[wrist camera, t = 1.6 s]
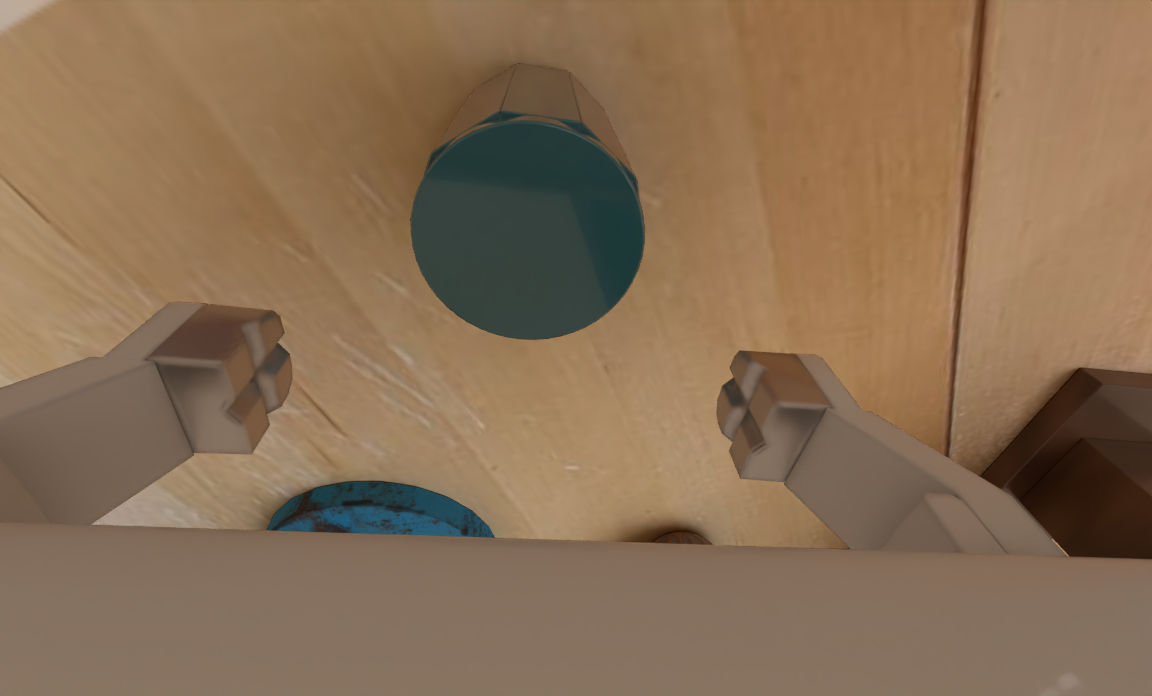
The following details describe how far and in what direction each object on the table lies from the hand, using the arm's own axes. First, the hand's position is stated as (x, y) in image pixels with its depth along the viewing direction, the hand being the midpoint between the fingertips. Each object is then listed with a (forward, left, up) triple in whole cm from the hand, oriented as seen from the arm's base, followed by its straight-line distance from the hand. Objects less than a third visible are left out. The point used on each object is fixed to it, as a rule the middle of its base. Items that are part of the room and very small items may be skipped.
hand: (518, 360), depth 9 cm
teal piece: (0, 0, -14) cm, 14 cm away
